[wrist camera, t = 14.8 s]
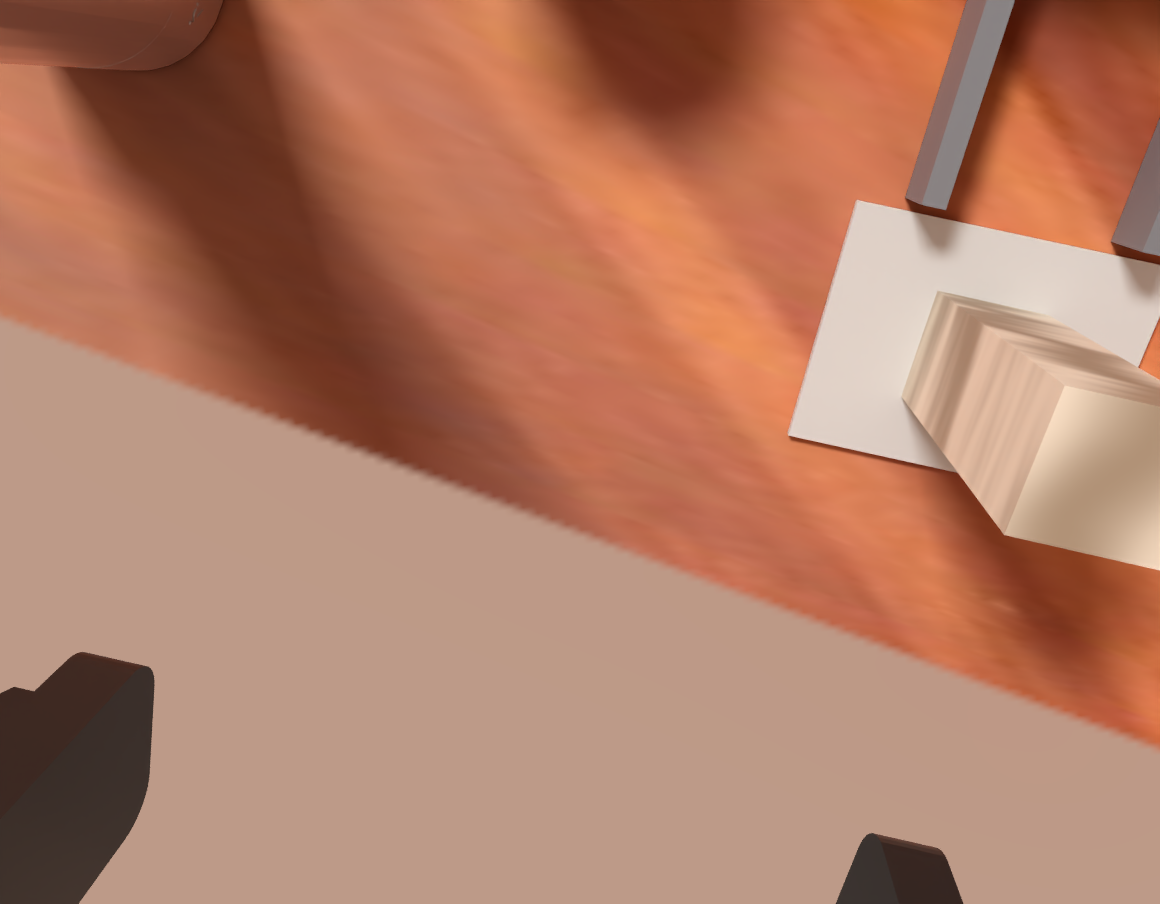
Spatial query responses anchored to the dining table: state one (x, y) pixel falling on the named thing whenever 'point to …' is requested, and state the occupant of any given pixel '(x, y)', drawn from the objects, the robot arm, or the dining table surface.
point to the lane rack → (1155, 203)
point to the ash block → (1042, 427)
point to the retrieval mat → (904, 300)
